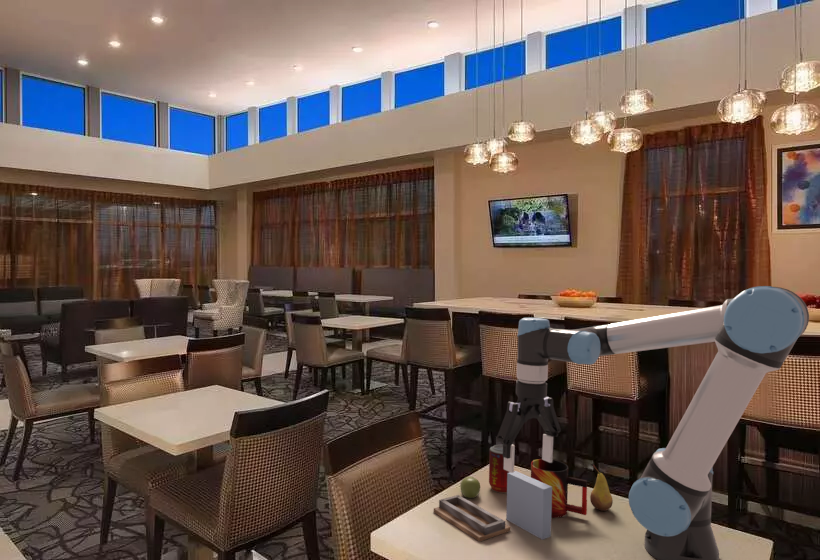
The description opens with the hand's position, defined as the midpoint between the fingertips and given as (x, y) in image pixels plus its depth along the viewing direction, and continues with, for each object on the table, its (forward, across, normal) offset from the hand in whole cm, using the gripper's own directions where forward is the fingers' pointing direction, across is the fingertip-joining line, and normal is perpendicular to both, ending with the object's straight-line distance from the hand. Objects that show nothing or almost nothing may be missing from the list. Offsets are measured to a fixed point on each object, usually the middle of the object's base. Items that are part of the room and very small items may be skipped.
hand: (528, 465), depth 132 cm
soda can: (+16, -11, -20) cm, 28 cm away
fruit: (+15, -25, +4) cm, 30 cm away
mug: (+16, -14, -2) cm, 21 cm away
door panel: (+15, 0, 0) cm, 15 cm away
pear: (+16, -1, -23) cm, 28 cm away
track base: (+15, +10, -10) cm, 21 cm away
